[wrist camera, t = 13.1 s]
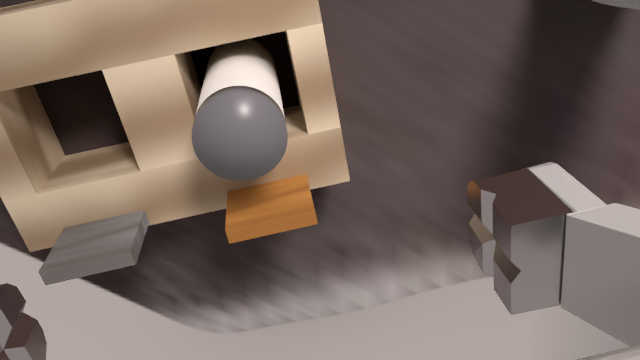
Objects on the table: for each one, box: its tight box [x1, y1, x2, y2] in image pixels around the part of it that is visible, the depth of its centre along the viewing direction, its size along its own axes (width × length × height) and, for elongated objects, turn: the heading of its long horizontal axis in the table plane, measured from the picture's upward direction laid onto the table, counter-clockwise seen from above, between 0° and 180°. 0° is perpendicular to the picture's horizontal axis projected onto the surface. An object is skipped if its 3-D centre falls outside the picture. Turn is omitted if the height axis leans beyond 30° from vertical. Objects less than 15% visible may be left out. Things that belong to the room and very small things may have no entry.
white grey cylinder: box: [192, 39, 288, 181], centre depth 27 cm, size 4×4×10 cm
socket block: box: [0, 0, 350, 285], centre depth 27 cm, size 12×18×9 cm, turn 100°
